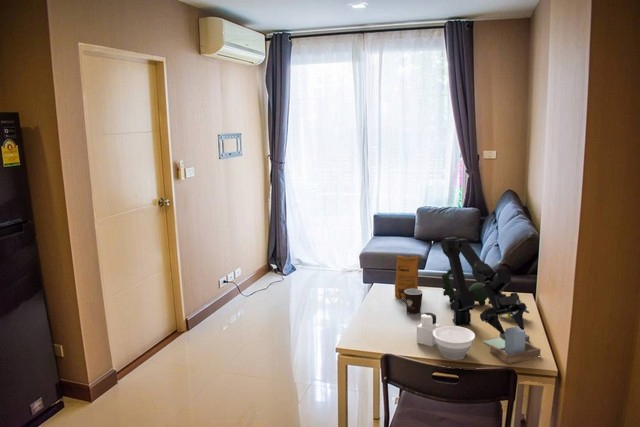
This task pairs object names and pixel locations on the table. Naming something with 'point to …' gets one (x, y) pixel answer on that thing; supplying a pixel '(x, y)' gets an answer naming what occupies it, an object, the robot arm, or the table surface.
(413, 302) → the coffee mug
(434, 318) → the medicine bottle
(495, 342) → the pad
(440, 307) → the table surface
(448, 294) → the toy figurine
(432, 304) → the table surface
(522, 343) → the block
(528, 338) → the trap tray
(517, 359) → the brown wooden tray
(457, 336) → the bowl
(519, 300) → the green leafy cluster
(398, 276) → the coffee package
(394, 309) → the table surface
